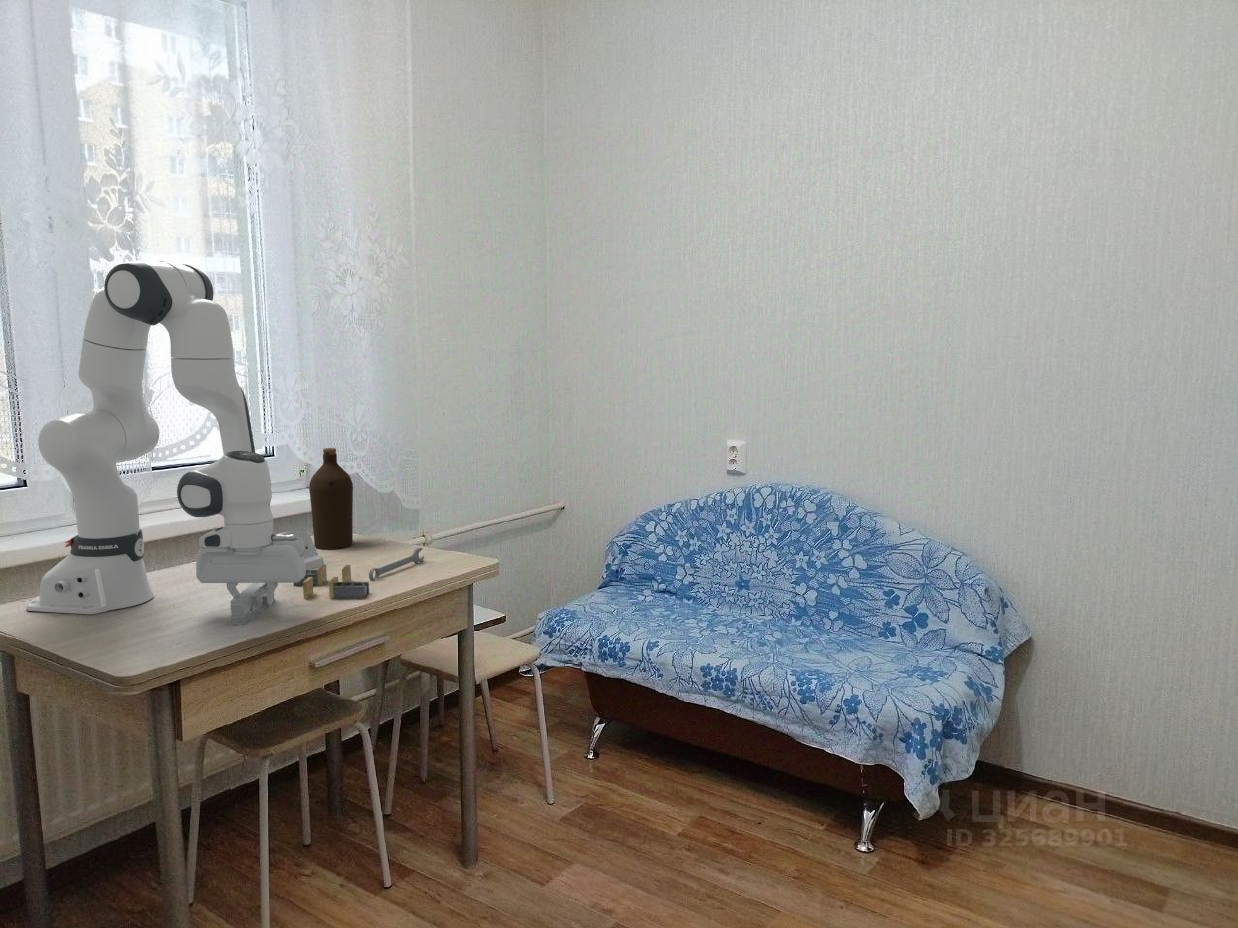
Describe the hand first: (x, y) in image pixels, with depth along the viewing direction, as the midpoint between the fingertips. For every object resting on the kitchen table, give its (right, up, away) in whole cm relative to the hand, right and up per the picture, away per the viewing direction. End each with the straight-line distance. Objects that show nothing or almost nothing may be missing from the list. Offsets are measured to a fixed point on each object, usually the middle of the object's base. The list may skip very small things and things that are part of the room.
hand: (253, 603), depth 185 cm
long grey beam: (0, -2, 0) cm, 2 cm away
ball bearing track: (+10, +1, +16) cm, 19 cm away
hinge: (-4, +3, +32) cm, 32 cm away
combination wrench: (+21, +2, +32) cm, 38 cm away
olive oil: (-1, +6, +57) cm, 57 cm away
